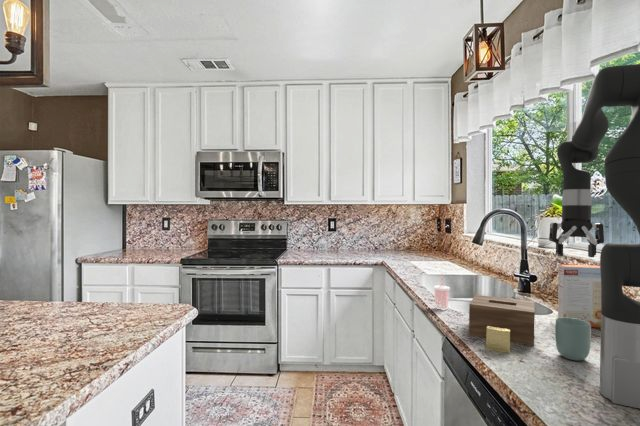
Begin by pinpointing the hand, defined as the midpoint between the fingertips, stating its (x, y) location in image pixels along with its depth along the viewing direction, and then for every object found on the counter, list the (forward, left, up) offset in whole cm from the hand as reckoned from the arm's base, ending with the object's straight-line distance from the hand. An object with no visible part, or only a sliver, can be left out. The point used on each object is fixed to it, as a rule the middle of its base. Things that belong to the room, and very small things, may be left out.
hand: (575, 256), depth 115 cm
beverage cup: (+14, +43, -26) cm, 52 cm away
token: (-22, +20, -26) cm, 39 cm away
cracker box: (+19, -4, -26) cm, 33 cm away
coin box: (-6, +20, -26) cm, 33 cm away
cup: (-18, +2, -26) cm, 32 cm away
